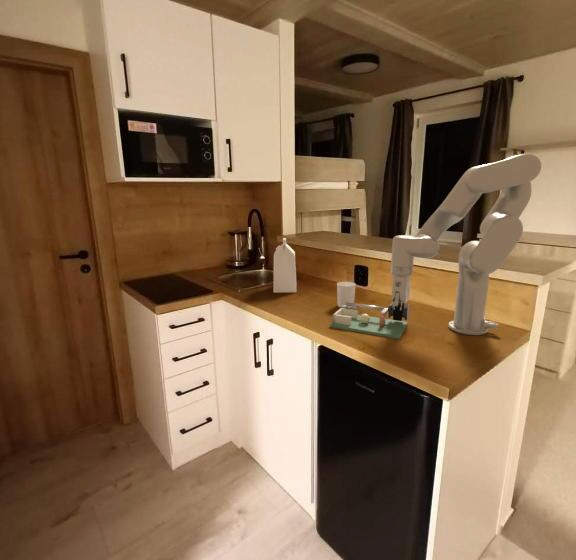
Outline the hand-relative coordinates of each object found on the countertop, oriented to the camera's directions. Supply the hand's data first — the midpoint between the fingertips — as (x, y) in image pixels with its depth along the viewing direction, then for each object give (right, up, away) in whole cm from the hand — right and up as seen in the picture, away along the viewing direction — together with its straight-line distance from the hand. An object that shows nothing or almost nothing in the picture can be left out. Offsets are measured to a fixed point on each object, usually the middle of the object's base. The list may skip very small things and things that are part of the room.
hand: (398, 318), depth 133 cm
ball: (-13, 0, 0) cm, 13 cm away
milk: (-42, +9, +51) cm, 67 cm away
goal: (-19, -2, +4) cm, 20 cm away
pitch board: (-11, -3, 0) cm, 11 cm away
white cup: (-16, +3, +23) cm, 28 cm away
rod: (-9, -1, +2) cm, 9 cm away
